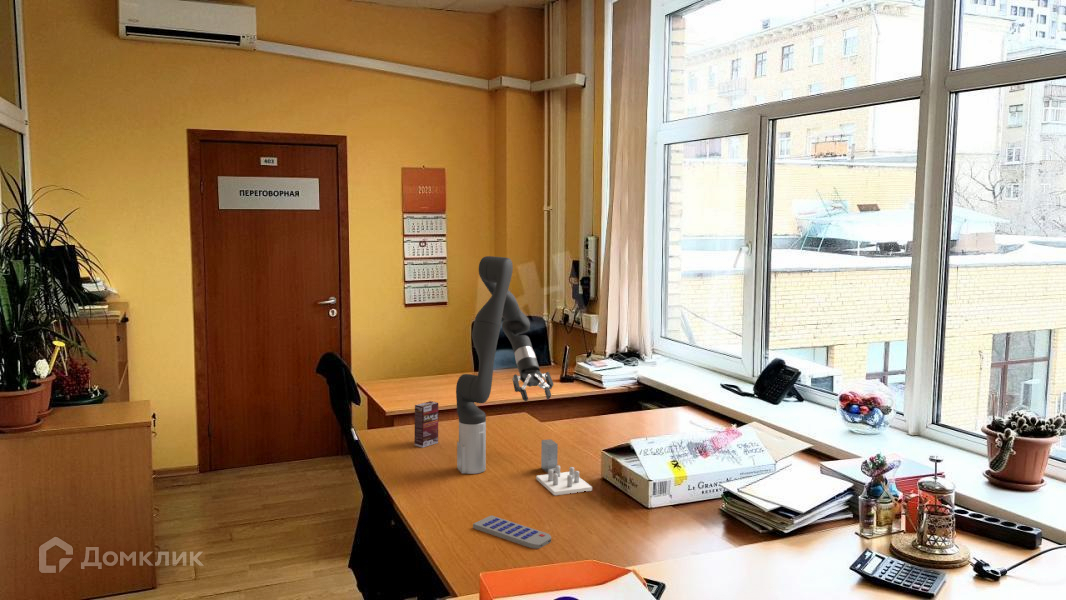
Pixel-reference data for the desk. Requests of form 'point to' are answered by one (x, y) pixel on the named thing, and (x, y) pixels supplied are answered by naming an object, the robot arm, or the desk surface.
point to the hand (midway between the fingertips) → (537, 399)
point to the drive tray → (563, 482)
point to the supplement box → (426, 424)
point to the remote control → (513, 532)
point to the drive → (549, 455)
